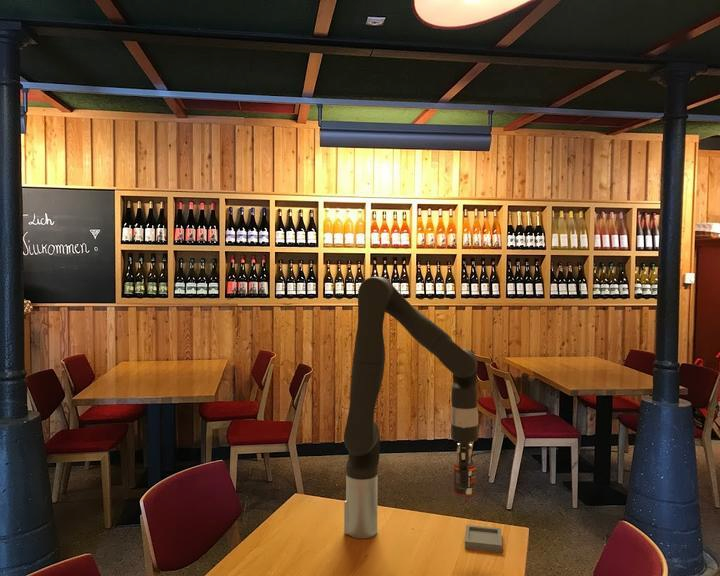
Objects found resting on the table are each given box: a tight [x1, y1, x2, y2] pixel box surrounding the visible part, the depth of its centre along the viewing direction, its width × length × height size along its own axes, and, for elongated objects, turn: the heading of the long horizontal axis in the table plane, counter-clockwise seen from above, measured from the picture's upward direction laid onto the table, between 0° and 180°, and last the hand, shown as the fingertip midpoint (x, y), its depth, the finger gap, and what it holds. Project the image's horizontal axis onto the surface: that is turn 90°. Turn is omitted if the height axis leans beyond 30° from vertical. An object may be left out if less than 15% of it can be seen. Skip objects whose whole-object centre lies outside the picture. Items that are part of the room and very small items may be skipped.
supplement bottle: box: [453, 453, 477, 499], centre depth 155 cm, size 6×6×11 cm
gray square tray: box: [464, 524, 503, 553], centre depth 158 cm, size 10×10×2 cm
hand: (464, 481), depth 155 cm, fingers closed on supplement bottle, 6 cm apart
